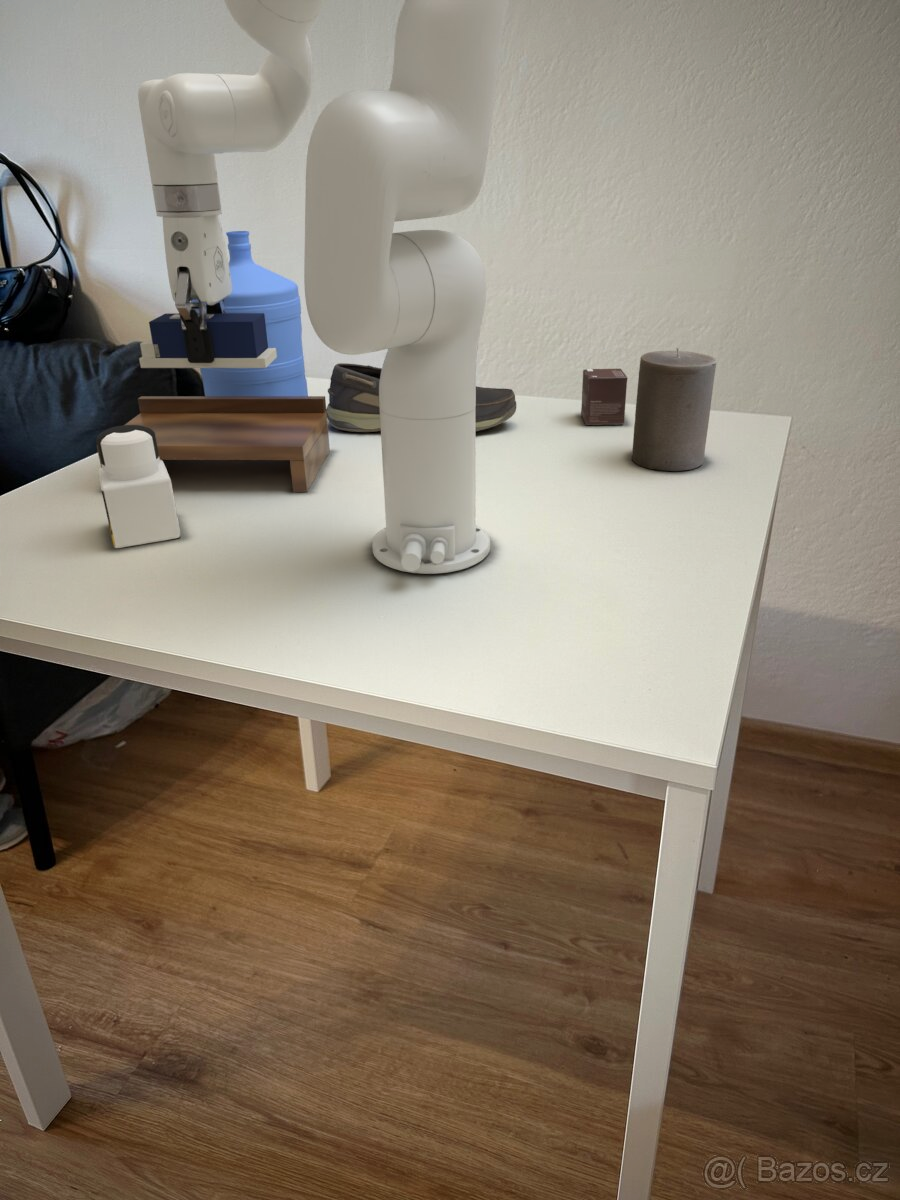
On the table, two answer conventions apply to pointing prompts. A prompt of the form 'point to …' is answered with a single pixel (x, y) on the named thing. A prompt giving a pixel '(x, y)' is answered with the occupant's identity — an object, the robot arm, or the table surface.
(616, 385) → the box
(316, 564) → the table surface
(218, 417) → the shelf
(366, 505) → the table surface
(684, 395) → the pillar candle
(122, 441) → the medicine bottle
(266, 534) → the table surface
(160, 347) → the blue block on tray
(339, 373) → the boat shoe
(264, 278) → the water jug
